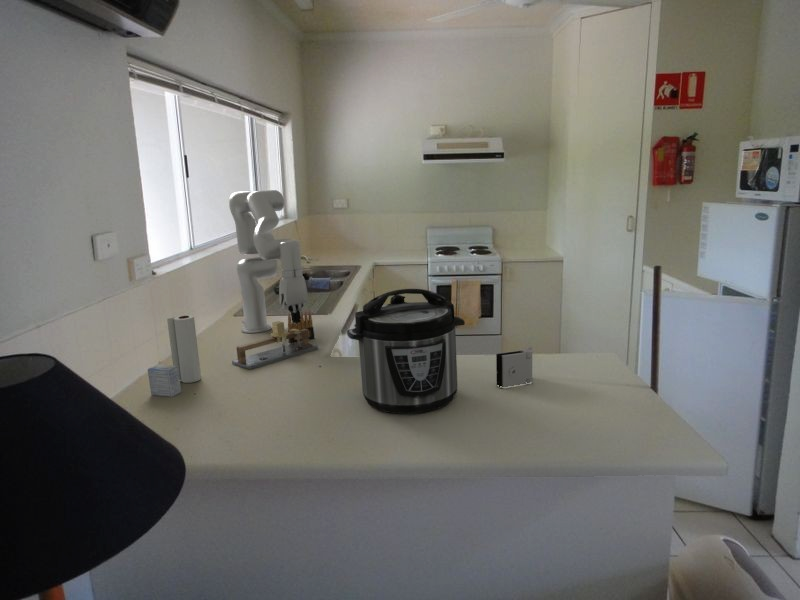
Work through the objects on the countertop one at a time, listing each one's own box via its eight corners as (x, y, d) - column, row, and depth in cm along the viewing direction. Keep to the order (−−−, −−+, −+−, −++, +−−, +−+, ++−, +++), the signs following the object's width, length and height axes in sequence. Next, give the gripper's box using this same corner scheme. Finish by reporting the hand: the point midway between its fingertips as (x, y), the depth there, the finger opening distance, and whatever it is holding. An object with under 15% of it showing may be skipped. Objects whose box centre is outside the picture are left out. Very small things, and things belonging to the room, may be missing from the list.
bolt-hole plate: (232, 363, 203) (231, 360, 203) (299, 344, 225) (299, 341, 224) (249, 369, 196) (249, 366, 196) (317, 348, 217) (317, 345, 217)
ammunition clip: (312, 337, 234) (310, 309, 232) (314, 338, 232) (312, 309, 230) (288, 342, 228) (285, 313, 226) (290, 343, 227) (287, 314, 224)
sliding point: (272, 350, 212) (269, 322, 209) (281, 348, 214) (278, 320, 212) (280, 353, 208) (277, 324, 206) (289, 350, 211) (286, 322, 209)
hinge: (529, 377, 177) (530, 345, 175) (542, 381, 172) (542, 349, 170) (494, 386, 170) (494, 353, 168) (506, 391, 165) (506, 358, 163)
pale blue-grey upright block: (181, 392, 176) (178, 365, 175) (171, 397, 172) (168, 370, 171) (161, 390, 179) (157, 364, 177) (150, 395, 175) (147, 368, 173)
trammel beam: (238, 362, 200) (236, 343, 199) (306, 343, 222) (304, 326, 220) (244, 364, 198) (242, 345, 196) (312, 344, 219) (311, 327, 218)
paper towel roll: (205, 378, 189) (197, 315, 185) (191, 384, 183) (183, 319, 179) (188, 376, 192) (181, 314, 188) (175, 382, 186) (166, 318, 182)
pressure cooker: (340, 414, 154) (332, 298, 148) (376, 379, 180) (371, 280, 174) (449, 423, 145) (446, 301, 138) (470, 385, 171) (468, 281, 165)
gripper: (301, 270, 220) (305, 317, 223) (269, 276, 209) (273, 325, 212) (314, 271, 214) (318, 319, 218) (281, 277, 204) (286, 327, 207)
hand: (296, 322), depth 215 cm, fingers closed
